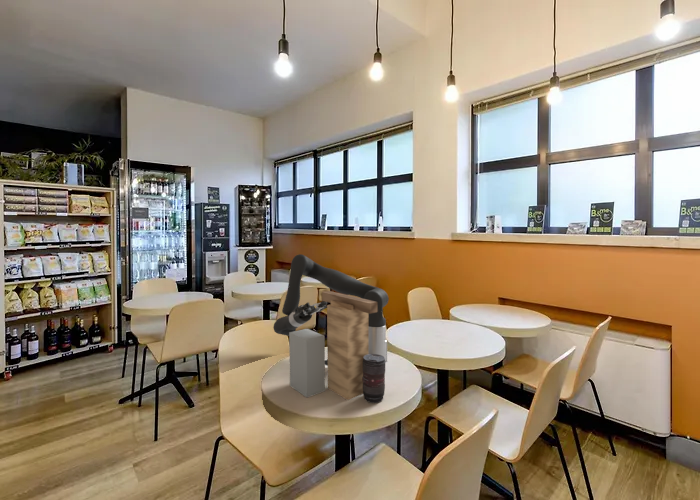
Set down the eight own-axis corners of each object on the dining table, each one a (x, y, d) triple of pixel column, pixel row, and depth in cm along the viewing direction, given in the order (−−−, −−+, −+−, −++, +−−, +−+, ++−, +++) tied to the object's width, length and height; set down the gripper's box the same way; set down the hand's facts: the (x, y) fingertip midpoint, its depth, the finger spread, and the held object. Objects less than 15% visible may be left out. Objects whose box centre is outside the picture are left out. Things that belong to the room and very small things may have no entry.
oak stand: (348, 380, 137) (347, 297, 135) (368, 391, 128) (368, 302, 126) (327, 388, 131) (327, 301, 129) (347, 400, 121) (347, 306, 119)
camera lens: (384, 405, 118) (384, 362, 117) (360, 402, 120) (360, 360, 119) (386, 394, 126) (386, 354, 125) (364, 392, 127) (364, 352, 127)
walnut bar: (326, 298, 141) (326, 287, 141) (378, 311, 118) (378, 299, 118) (318, 299, 138) (318, 289, 138) (369, 313, 115) (369, 300, 115)
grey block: (307, 380, 138) (306, 328, 136) (325, 390, 129) (324, 335, 127) (289, 385, 133) (289, 332, 131) (306, 397, 123) (306, 340, 122)
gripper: (283, 310, 150) (300, 296, 139) (311, 305, 159) (328, 292, 148) (288, 327, 148) (305, 314, 137) (315, 321, 157) (334, 309, 146)
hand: (317, 303), depth 142 cm, fingers open, 8 cm apart
